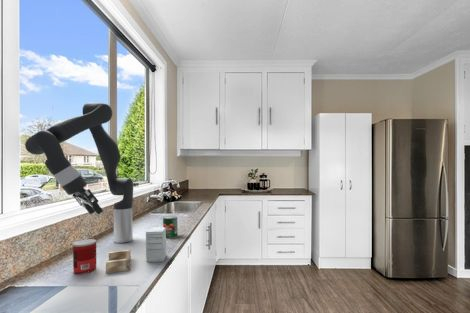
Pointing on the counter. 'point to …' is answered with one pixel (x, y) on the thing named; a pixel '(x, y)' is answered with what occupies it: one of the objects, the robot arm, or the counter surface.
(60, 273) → the counter surface
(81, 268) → the canned food
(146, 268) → the counter surface
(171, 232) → the canned tomato
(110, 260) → the wooden bracket
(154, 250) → the supplement box
